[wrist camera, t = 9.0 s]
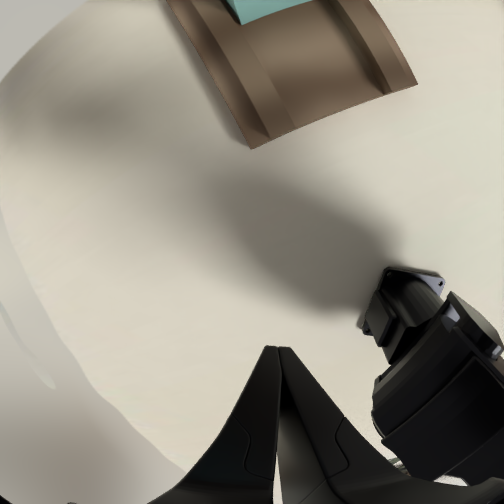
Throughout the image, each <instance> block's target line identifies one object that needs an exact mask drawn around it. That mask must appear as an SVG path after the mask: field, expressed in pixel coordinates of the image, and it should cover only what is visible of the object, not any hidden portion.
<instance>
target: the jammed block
mask: <svg viewBox="0 0 504 504" xmlns="http://www.w3.org/2000/svg"><path fill="white" fill-rule="evenodd" d="M225 1H226V3H227V4H228V6H229V7H230V9H231V10H232V11H233V13H234V14H235V16H236V17H237V19H238V20H239V22H240V23H241V25H243V24H246V23H248V22H251V21H253V20H256V19H258V18H261V17H263V16H266V15H269V14H271V13H274V12H277V11H280V10H283V9H286V8H289V7H292V6H295V5H298V4H301V3H305V2H308V1H312V0H225Z"/></svg>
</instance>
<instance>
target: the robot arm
mask: <svg viewBox="0 0 504 504" xmlns="http://www.w3.org/2000/svg"><path fill="white" fill-rule="evenodd" d="M389 272H391V274H390V275H389V276H387V274H388V273H389ZM440 281H441V282H440ZM439 282H440V284H439ZM444 285H445V280H444V279H443V278H442V277H440V276H435V275H430V274H424V273H419V272H414V271H408V270H403V269H398V268H392V267H388V268H386V269H385V270H384V271H383V274H382V277H381V280H380V283H379V285H378V288H377V290H376V291H375V292H374V294H373V297H372V299H371V302H370V305H369V307H368V310H367V312H366V315H365V318H366V320H365V322H364V324H363V327H362V331H363V334H364V335H369V336H373V337H374V339H375V341H376V344H377V346H378V347H382V349H383V351H384V354H385V356H386V359H387V361H388V363H389V364H390V365H391V366H390V367H389V368H388V369H387V370H386V371H385V372H384V373H383V374H382V375H379V376H378V377H377V378H376V379H375V383H374V390H373V395H372V399H373V409H372V411H371V417H372V420H373V424H374V426H375V429H376V430H377V432H378V433H379V435H380V436H381V437H382V438H383V439H382V440H381V443H382V444H383V445H384V446H385V447H387V448H388V449H390V450H391V451H392V452H393V453H394V454H395V455H396V456H397V457H398V458H399V459H400V460H401V462H402V463H403V465H404V466H405V468H406V469H407V471H408V472H409V474H410V476H409V475H407V474H405V473H403V472H401V471H400V470H399V469H397V468H396V467H395V466H394V465H393V464H391V463H390V462H389V461H388V460H387V459H386V458H385V457H384V456H383V455H382V454H380V453H379V452H378V451H377V450H376V449H375V448H374V447H373V446H372V445H371V444H370V443H369V442H368V441H367V440H366V439H365V438H364V437H363V436H362V435H361V434H360V433H359V432H358V431H357V430H356V428H355V427H354V426H353V425H352V424H351V423H350V421H349V420H348V419H347V418H346V417H344V414H343V413H342V412H341V411H340V409H339V408H338V407H337V406H336V404H335V403H334V402H333V401H332V399H331V398H330V397H329V396H328V394H327V393H326V392H325V391H324V389H323V388H322V387H321V386H320V384H319V383H318V382H317V381H316V379H315V378H314V377H313V375H312V374H311V373H310V372H309V370H308V369H307V368H306V367H305V365H304V364H303V363H302V361H301V360H300V359H299V358H298V356H297V355H296V354H295V352H294V351H293V350H292V349H291V348H290V347H282V346H279V347H277V346H269V345H266V346H265V347H264V349H263V351H262V353H261V355H260V357H259V359H258V361H257V363H256V365H255V367H254V369H253V371H252V373H251V375H250V377H249V379H248V381H247V383H246V385H245V387H244V389H243V391H242V393H241V395H240V397H239V399H238V401H237V403H236V405H235V406H234V408H233V410H232V412H231V415H230V416H229V417H228V419H227V421H226V423H225V425H224V426H223V428H222V430H221V431H220V433H219V435H218V436H217V438H216V439H215V440H214V442H213V443H212V444H211V446H210V447H209V448H208V450H207V451H206V452H205V453H204V454H203V456H202V457H201V458H200V459H199V460H198V462H197V463H196V464H195V465H194V466H193V468H192V469H191V470H190V471H189V472H188V473H187V475H186V476H185V477H184V478H183V479H182V480H181V481H180V482H179V483H177V484H176V485H175V486H174V487H173V488H172V489H170V490H169V491H167V492H165V493H164V494H162V495H161V496H159V497H158V498H156V499H154V500H152V501H151V502H149V503H147V504H273V485H274V482H273V481H274V475H275V465H276V454H277V456H278V465H279V474H280V483H281V492H282V501H283V504H504V359H503V358H502V357H501V356H500V355H501V354H502V352H503V351H504V345H503V343H502V341H501V339H500V336H499V334H498V332H497V330H496V329H495V328H494V327H493V326H492V325H491V324H490V323H489V322H488V321H487V320H486V319H485V318H484V317H483V315H482V314H480V313H479V312H478V311H477V310H475V309H474V308H473V307H472V306H470V305H469V304H468V303H467V302H465V301H464V300H463V299H461V298H460V297H459V296H457V295H456V294H455V293H453V292H452V291H450V293H449V294H448V295H447V299H446V301H445V302H444V301H443V300H442V299H441V298H440V295H441V292H442V290H443V287H444ZM369 328H370V329H369ZM366 329H369V330H366ZM442 475H445V476H450V477H456V478H461V479H462V480H463V481H464V482H465V483H466V484H467V486H458V485H451V484H445V483H439V482H434V480H436V479H438V478H439V477H441V476H442ZM0 504H12V503H10V502H9V501H8V500H6V499H5V498H3V497H2V496H1V495H0ZM68 504H76V503H71V502H70V503H68Z"/></svg>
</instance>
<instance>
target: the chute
mask: <svg viewBox="0 0 504 504" xmlns="http://www.w3.org/2000/svg"><path fill="white" fill-rule="evenodd" d="M166 1H167V2H168V4H169V5H170V7H171V9H172V10H173V12H174V13H175V15H176V17H177V18H178V20H179V22H180V23H181V25H182V27H183V28H184V30H185V31H186V33H187V35H188V37H189V38H190V40H191V42H192V43H193V45H194V47H195V48H196V50H197V52H198V53H199V55H200V57H201V59H202V60H203V62H204V64H205V66H206V67H207V69H208V71H209V73H210V74H211V76H212V78H213V80H214V82H215V83H216V85H217V87H218V89H219V91H220V92H221V94H222V96H223V98H224V100H225V102H226V103H227V105H228V107H229V109H230V111H231V113H232V114H233V116H234V118H235V120H236V122H237V124H238V126H239V128H240V130H241V131H242V133H243V135H244V137H245V139H246V141H247V143H248V145H249V147H250V149H254V148H256V147H258V146H260V145H263V144H265V143H267V142H269V141H271V140H273V139H276V138H278V137H280V136H282V135H284V134H287V133H289V132H291V131H293V130H296V129H298V128H300V127H303V126H305V125H307V124H310V123H312V122H315V121H317V120H319V119H322V118H324V117H327V116H329V115H332V114H335V113H337V112H340V111H342V110H345V109H348V108H350V107H353V106H356V105H358V104H361V103H364V102H367V101H370V100H373V99H376V98H378V97H381V96H384V95H387V94H391V93H394V92H397V91H400V90H403V89H407V88H410V87H413V86H415V85H418V83H417V81H416V79H415V77H414V75H413V73H412V71H411V69H410V67H409V65H408V63H407V61H406V59H405V57H404V55H403V53H402V52H401V50H400V48H399V46H398V44H397V43H396V41H395V39H394V38H393V36H392V34H391V33H390V31H389V29H388V28H387V26H386V25H385V23H384V21H383V20H382V18H381V17H380V15H379V14H378V12H377V11H376V10H375V8H374V7H373V5H372V4H371V2H370V1H369V0H312V1H308V2H305V3H301V4H298V5H295V6H292V7H289V8H286V9H283V10H280V11H277V12H274V13H271V14H269V15H266V16H263V17H261V18H258V19H256V20H253V21H251V22H248V23H246V24H243V25H241V23H240V22H239V20H238V19H237V17H236V16H235V14H234V13H233V11H232V10H231V9H230V7H229V6H228V4H227V3H226V1H225V0H166Z"/></svg>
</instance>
